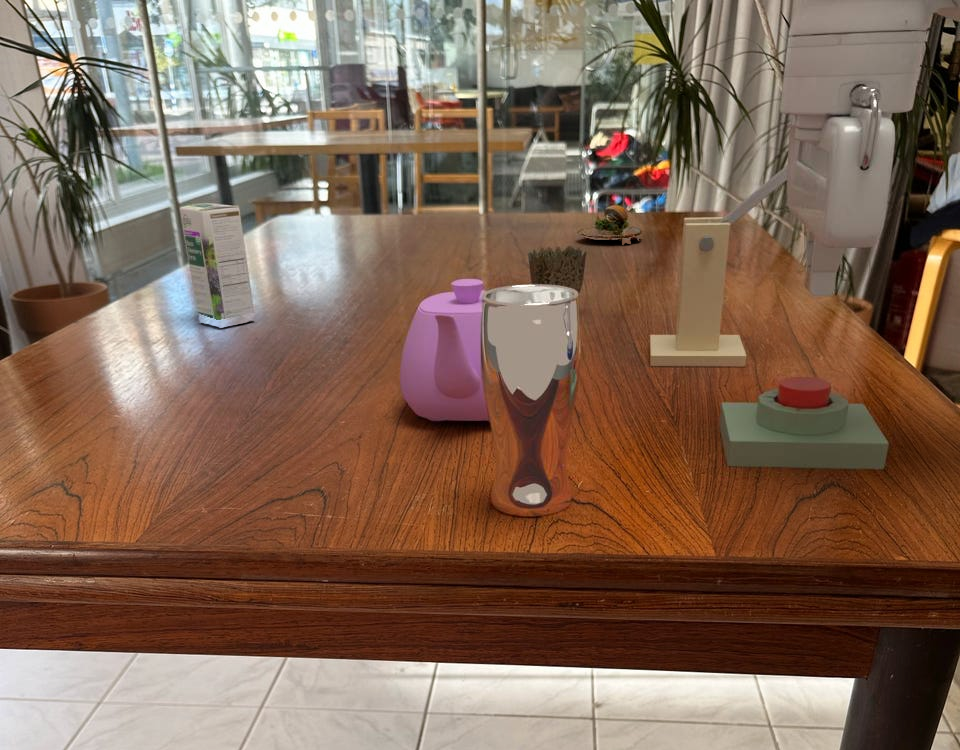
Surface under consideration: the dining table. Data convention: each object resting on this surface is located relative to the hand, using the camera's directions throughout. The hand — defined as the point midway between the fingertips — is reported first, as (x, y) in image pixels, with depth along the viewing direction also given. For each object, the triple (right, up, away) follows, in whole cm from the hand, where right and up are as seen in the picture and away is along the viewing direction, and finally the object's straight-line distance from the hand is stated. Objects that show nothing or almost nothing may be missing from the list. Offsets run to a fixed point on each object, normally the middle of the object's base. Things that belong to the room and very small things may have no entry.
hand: (817, 292), depth 72 cm
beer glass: (-22, -16, -1) cm, 28 cm away
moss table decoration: (-2, +47, +101) cm, 111 cm away
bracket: (-2, +5, +32) cm, 32 cm away
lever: (+3, +18, +23) cm, 29 cm away
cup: (-16, +16, +51) cm, 56 cm away
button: (0, -8, +5) cm, 9 cm away
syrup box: (-60, +16, +54) cm, 82 cm away
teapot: (-27, -5, +17) cm, 33 cm away
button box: (0, -11, +6) cm, 12 cm away
